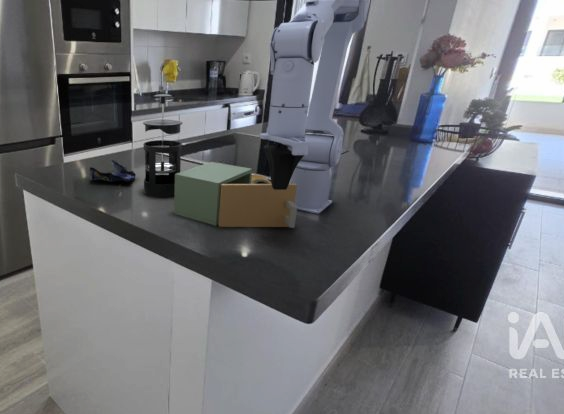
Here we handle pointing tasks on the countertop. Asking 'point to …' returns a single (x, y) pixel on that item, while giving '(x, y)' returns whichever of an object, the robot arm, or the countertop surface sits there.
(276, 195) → the door
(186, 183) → the cupboard
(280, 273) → the countertop surface
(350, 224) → the countertop surface
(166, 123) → the french press
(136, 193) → the countertop surface
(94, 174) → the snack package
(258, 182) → the pastry
